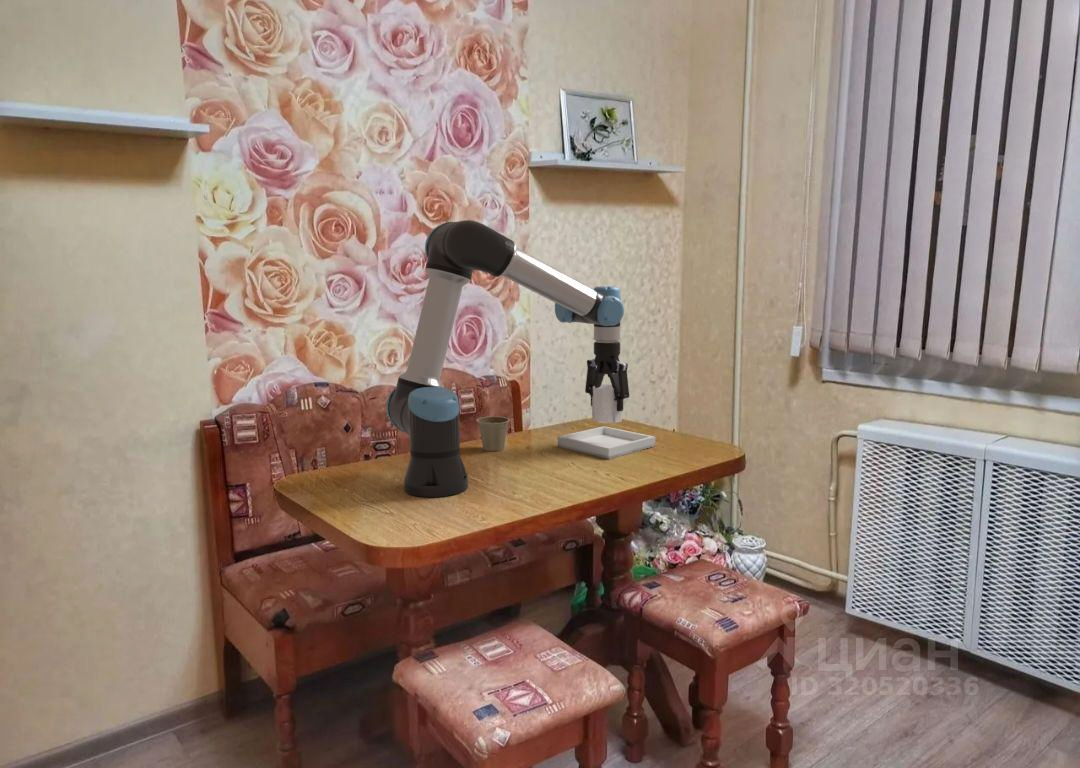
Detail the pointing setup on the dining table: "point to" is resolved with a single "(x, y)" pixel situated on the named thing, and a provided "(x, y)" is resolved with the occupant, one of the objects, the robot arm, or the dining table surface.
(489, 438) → the flower pot
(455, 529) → the dining table surface
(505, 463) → the dining table surface
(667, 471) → the dining table surface
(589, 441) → the tray
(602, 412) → the white cup
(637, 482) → the dining table surface
